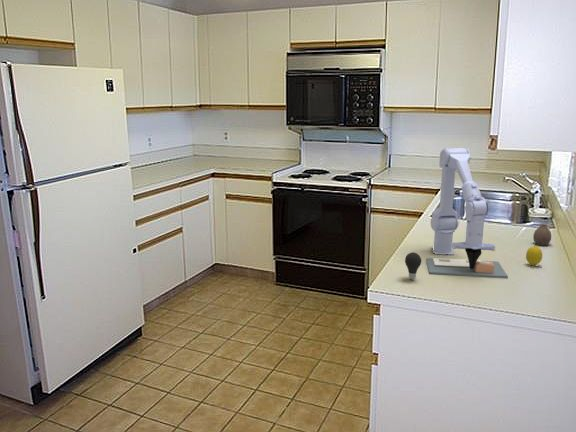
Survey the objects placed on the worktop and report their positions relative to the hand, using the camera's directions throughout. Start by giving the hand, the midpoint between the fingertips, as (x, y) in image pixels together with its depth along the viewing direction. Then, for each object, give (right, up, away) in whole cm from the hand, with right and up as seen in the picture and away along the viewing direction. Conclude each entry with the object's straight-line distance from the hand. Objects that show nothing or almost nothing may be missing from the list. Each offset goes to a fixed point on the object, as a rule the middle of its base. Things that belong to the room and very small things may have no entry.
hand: (471, 268), depth 185 cm
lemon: (+26, 0, +7) cm, 27 cm away
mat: (-1, -1, +4) cm, 5 cm away
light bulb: (-23, -4, -6) cm, 24 cm away
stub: (+4, -2, 0) cm, 5 cm away
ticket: (-2, 0, +7) cm, 8 cm away
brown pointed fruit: (+42, +7, +33) cm, 54 cm away
